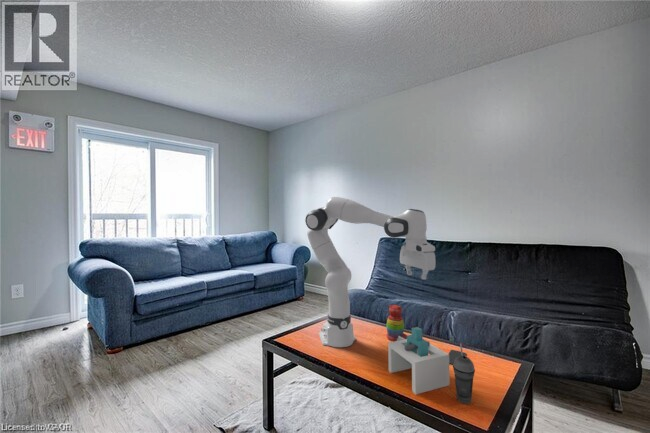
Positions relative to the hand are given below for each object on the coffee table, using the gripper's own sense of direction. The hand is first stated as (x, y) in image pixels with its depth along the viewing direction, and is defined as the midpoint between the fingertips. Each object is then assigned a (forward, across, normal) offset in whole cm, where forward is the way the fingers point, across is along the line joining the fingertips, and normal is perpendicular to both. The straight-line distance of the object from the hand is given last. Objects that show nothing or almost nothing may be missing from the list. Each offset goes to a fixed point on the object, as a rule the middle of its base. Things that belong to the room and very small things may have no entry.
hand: (416, 277), depth 130 cm
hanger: (+34, +8, -6) cm, 36 cm away
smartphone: (+40, +1, +21) cm, 45 cm away
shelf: (+39, +8, -6) cm, 40 cm away
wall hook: (+39, -8, +1) cm, 40 cm away
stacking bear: (+39, -28, +8) cm, 49 cm away
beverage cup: (+39, +26, 0) cm, 47 cm away
